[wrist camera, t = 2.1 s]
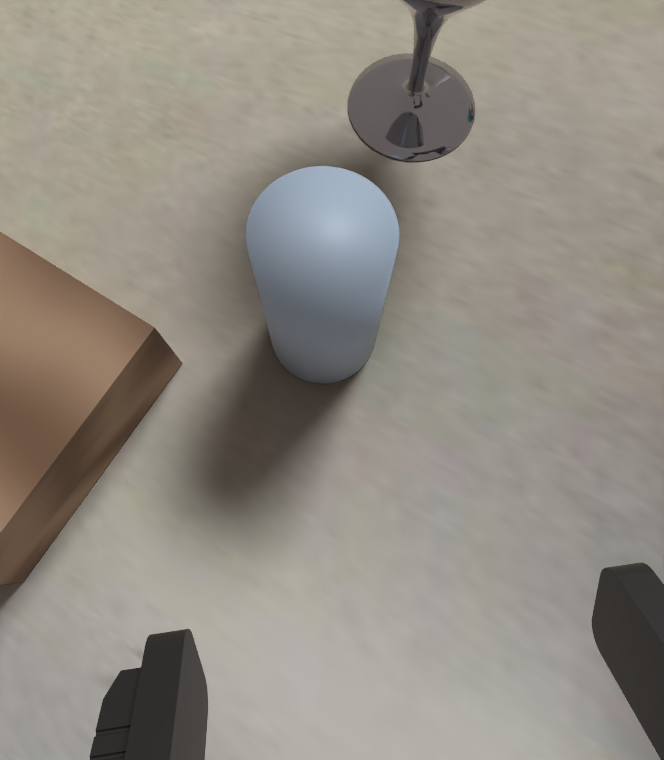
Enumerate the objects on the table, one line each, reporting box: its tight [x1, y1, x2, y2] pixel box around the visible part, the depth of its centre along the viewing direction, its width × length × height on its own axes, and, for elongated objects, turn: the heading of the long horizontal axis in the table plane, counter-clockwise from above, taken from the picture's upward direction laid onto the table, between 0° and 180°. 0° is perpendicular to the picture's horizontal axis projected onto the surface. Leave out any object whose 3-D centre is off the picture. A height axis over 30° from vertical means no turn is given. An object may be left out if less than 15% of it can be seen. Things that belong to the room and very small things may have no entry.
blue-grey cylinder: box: [246, 166, 399, 384], centre depth 25 cm, size 5×5×10 cm
